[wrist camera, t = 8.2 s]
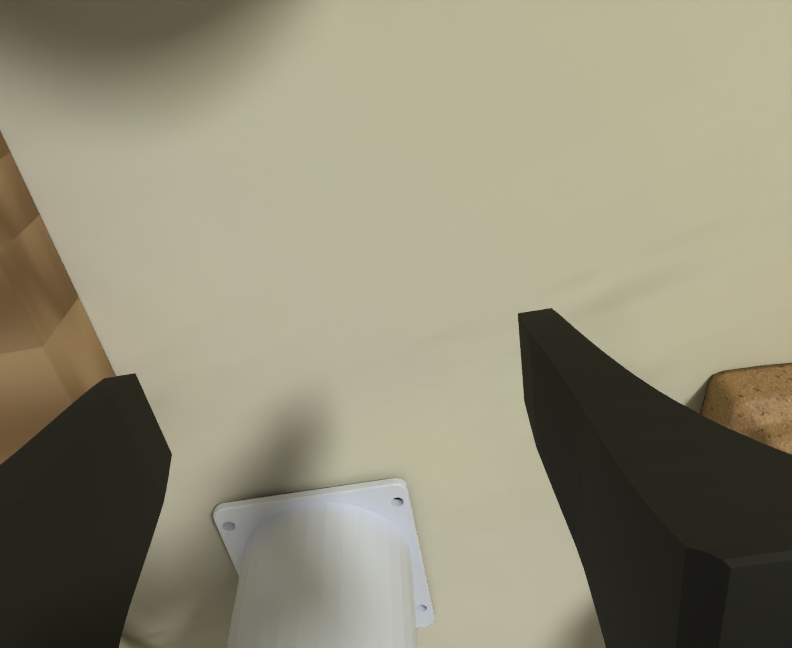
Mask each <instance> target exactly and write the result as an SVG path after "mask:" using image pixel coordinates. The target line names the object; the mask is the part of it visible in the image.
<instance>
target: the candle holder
mask: <svg viewBox="0 0 792 648" xmlns="http://www.w3.org/2000/svg"><path fill="white" fill-rule="evenodd" d="M700 415H702V416H704V417H706V418H708V419H710V420H712V421H714V422H716V423H718V424H720V425H722V426H725V427H727V428H729V429H731V430H734V431H736V432H738V433H740V434H743V435H745V436H747V437H749V438H752V439H754V440H756V441H758V442H761V443H763V444H766V445H768V446H771V447H774V448H776V449H779V450H781V451H784V452H786V453H789V454H792V363H785V364H774V365H763V366H755V367H748V368H741V369H734V370H727V371H722V372H720V373H717V374H715V375H713V377H712V378H711V380H710V381H709V383H708V387H707V391H706V395H705V398H704V402H703V406H702V410H701V414H700Z"/></svg>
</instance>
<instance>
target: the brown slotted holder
mask: <svg viewBox="0 0 792 648" xmlns="http://www.w3.org/2000/svg"><path fill="white" fill-rule="evenodd" d="M110 377H116V375H115V373H114V371H113V369H112V367H111V365H110V362H109V360H108V358H107V356H106V354H105V352H104V350H103V348H102V345H101V343H100V341H99V339H98V337H97V335H96V333H95V331H94V329H93V326H92V324H91V322H90V320H89V318H88V316H87V314H86V312H85V309H84V307H83V305H82V303H81V301H80V299H79V297H78V295H77V292H76V290H75V288H74V286H73V284H72V282H71V280H70V278H69V276H68V273H67V271H66V269H65V267H64V265H63V263H62V261H61V259H60V256H59V254H58V252H57V250H56V248H55V246H54V244H53V242H52V239H51V237H50V235H49V233H48V231H47V229H46V227H45V225H44V223H43V220H42V218H41V216H40V214H39V212H38V210H37V208H36V206H35V203H34V201H33V199H32V197H31V195H30V193H29V191H28V189H27V186H26V184H25V182H24V180H23V178H22V176H21V174H20V172H19V170H18V167H17V165H16V163H15V161H14V159H13V157H12V155H11V153H10V150H9V148H8V146H7V144H6V142H5V140H4V138H3V136H2V133H1V131H0V464H2V463H3V462H4V461H5V460H7V459H8V458H9V457H10V456H12V455H13V454H14V453H15V452H17V451H18V450H19V449H20V448H21V447H23V446H24V445H25V444H26V443H27V442H28V441H29V440H31V439H32V438H33V437H34V436H35V435H36V434H38V433H39V432H40V431H41V430H42V429H43V428H44V427H46V426H47V425H48V424H49V423H50V422H51V421H53V420H54V419H55V418H56V417H57V416H58V415H59V414H61V413H62V412H63V411H64V410H65V409H66V408H68V407H69V406H70V405H71V404H72V403H73V402H75V401H76V400H77V399H78V398H79V397H80V396H82V395H83V394H84V393H85V392H87V391H88V390H89V389H90V388H92V387H93V386H94V385H96V384H97V383H98V382H100V381H101V380H103V379H104V378H110Z"/></svg>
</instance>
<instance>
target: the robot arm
mask: <svg viewBox="0 0 792 648" xmlns="http://www.w3.org/2000/svg"><path fill="white" fill-rule="evenodd" d="M518 322H519V335H520V348H521V361H522V375H523V388H524V401H525V405H526V409H527V413H528V417H529V421H530V425H531V429H532V432H533V436H534V440H535V444H536V447H537V450H538V452H539V455H540V458H541V460H542V463H543V465H544V468H545V470H546V473H547V475H548V478H549V480H550V483H551V485H552V488H553V490H554V493H555V495H556V498H557V500H558V503H559V505H560V508H561V510H562V513H563V515H564V518H565V520H566V523H567V525H568V528H569V530H570V533H571V535H572V538H573V540H574V543H575V545H576V548H577V550H578V553H579V556H580V559H581V562H582V565H583V568H584V571H585V574H586V578H587V581H588V584H589V588H590V591H591V595H592V598H593V602H594V605H595V609H596V612H597V616H598V619H599V623H600V627H601V630H602V634H603V638H604V641H605V645H606V648H792V454H789V453H786V452H784V451H781V450H779V449H776V448H774V447H771V446H768V445H766V444H763V443H761V442H758V441H756V440H754V439H752V438H749V437H747V436H745V435H743V434H740V433H738V432H736V431H734V430H731V429H729V428H727V427H725V426H722V425H720V424H718V423H716V422H714V421H712V420H710V419H708V418H706V417H704V416H702V415H700V414H699V413H697V412H695V411H693V410H691V409H689V408H688V407H686V406H684V405H682V404H680V403H678V402H677V401H675V400H673V399H671V398H670V397H668V396H666V395H665V394H663V393H661V392H660V391H658V390H656V389H655V388H653V387H652V386H650V385H649V384H647V383H646V382H644V381H643V380H641V379H640V378H638V377H637V376H635V375H634V374H632V373H631V372H630V371H628V370H627V369H625V368H624V367H623V366H621V365H620V364H619V363H617V362H616V361H615V360H614V359H612V358H611V357H610V356H608V355H607V354H606V353H604V352H603V351H602V350H601V349H599V348H598V347H597V346H596V345H594V344H593V343H592V342H591V341H590V340H588V339H587V338H586V337H585V336H584V335H582V334H581V333H580V332H579V331H578V330H577V329H575V328H574V327H573V326H572V325H571V324H570V323H568V322H567V321H566V320H565V319H564V318H563V317H562V316H560V315H559V314H558V313H557V312H556V311H554V310H553V309H552V308H550V309H543V310H537V311H531V312H524V313H518ZM171 456H172V454H171V451H170V449H169V447H168V445H167V442H166V440H165V438H164V436H163V434H162V431H161V429H160V427H159V425H158V423H157V420H156V418H155V416H154V414H153V411H152V409H151V407H150V405H149V403H148V400H147V398H146V396H145V394H144V392H143V389H142V387H141V385H140V383H139V380H138V378H137V376H136V374H129V375H122V376H116V377H110V378H104V379H103V380H101V381H100V382H98V383H97V384H96V385H94V386H93V387H92V388H90V389H89V390H88V391H87V392H85V393H84V394H83V395H82V396H80V397H79V398H78V399H77V400H76V401H75V402H73V403H72V404H71V405H70V406H69V407H68V408H66V409H65V410H64V411H63V412H62V413H61V414H59V415H58V416H57V417H56V418H55V419H54V420H53V421H51V422H50V423H49V424H48V425H47V426H46V427H44V428H43V429H42V430H41V431H40V432H39V433H38V434H36V435H35V436H34V437H33V438H32V439H31V440H29V441H28V442H27V443H26V444H25V445H24V446H23V447H21V448H20V449H19V450H18V451H17V452H15V453H14V454H13V455H12V456H10V457H9V458H8V459H7V460H5V461H4V462H3V463H2V464H0V648H119V643H120V639H121V634H122V631H123V627H124V624H125V620H126V617H127V613H128V609H129V606H130V603H131V600H132V597H133V594H134V591H135V588H136V585H137V582H138V579H139V576H140V573H141V570H142V567H143V564H144V561H145V558H146V555H147V552H148V549H149V546H150V543H151V540H152V537H153V534H154V531H155V528H156V525H157V522H158V519H159V516H160V512H161V509H162V506H163V502H164V498H165V492H166V487H167V482H168V476H169V469H170V463H171ZM393 498H401V499H393ZM213 518H214V521H215V523H216V526H217V528H218V530H219V532H220V535H221V537H222V539H223V542H224V544H225V546H226V548H227V551H228V553H229V555H230V558H231V560H232V562H233V564H234V567H235V569H236V571H237V574H238V576H239V581H238V587H237V592H236V598H235V603H234V609H233V614H232V619H231V625H230V630H229V636H228V641H227V647H226V648H418V643H417V629H418V628H425V627H429V626H431V625H432V624H433V623H434V621H435V617H434V610H433V606H432V601H431V596H430V591H429V587H428V582H427V577H426V572H425V568H424V563H423V558H422V553H421V549H420V544H419V539H418V534H417V530H416V525H415V520H414V515H413V510H412V506H411V501H410V496H409V491H408V487H407V484H406V482H405V481H403V480H402V479H399V478H392V479H385V480H378V481H371V482H364V483H357V484H351V485H344V486H337V487H330V488H323V489H316V490H309V491H303V492H296V493H289V494H282V495H275V496H268V497H261V498H255V499H248V500H241V501H234V502H227V503H222V504H219V505H218V506H216V508H215V510H214V514H213ZM227 522H231V523H227Z"/></svg>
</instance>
